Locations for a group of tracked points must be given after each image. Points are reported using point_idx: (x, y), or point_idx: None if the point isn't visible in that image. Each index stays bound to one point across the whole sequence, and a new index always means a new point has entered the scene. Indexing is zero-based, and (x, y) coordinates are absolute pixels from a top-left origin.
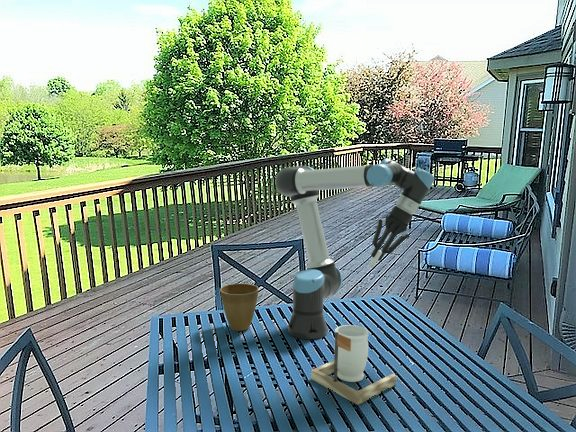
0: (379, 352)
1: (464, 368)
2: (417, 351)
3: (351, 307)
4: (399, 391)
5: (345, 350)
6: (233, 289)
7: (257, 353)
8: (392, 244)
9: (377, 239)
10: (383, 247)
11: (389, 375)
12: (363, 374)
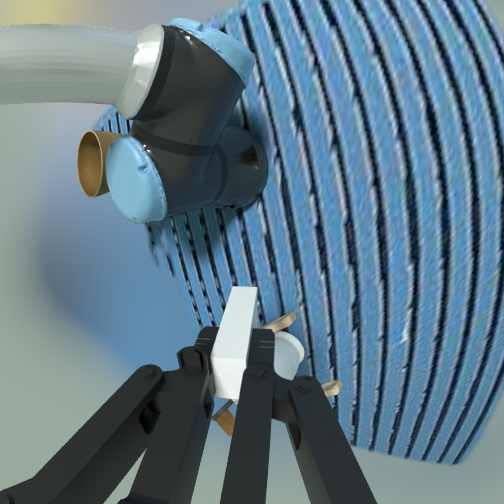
0: (360, 285)
1: (476, 369)
2: (441, 295)
3: (338, 7)
4: (340, 396)
5: None
6: (90, 137)
7: (174, 251)
8: (309, 450)
9: (145, 440)
10: (242, 397)
11: (327, 391)
12: (302, 357)
